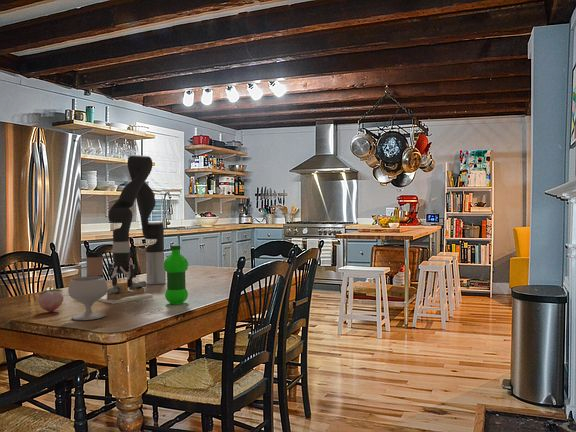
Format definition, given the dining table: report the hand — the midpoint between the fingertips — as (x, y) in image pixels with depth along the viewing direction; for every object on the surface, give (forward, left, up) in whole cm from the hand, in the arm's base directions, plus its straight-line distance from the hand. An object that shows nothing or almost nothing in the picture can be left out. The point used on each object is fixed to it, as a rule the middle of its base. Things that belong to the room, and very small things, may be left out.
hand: (122, 286), depth 239 cm
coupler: (0, 0, -4) cm, 4 cm away
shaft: (-8, 0, -4) cm, 9 cm away
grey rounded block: (+7, +5, -4) cm, 10 cm away
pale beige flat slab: (0, 0, -5) cm, 5 cm away
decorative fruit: (+35, +4, -6) cm, 36 cm away
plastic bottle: (-7, +31, -6) cm, 32 cm away
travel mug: (-1, -26, -6) cm, 26 cm away
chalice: (+31, +27, -6) cm, 42 cm away
